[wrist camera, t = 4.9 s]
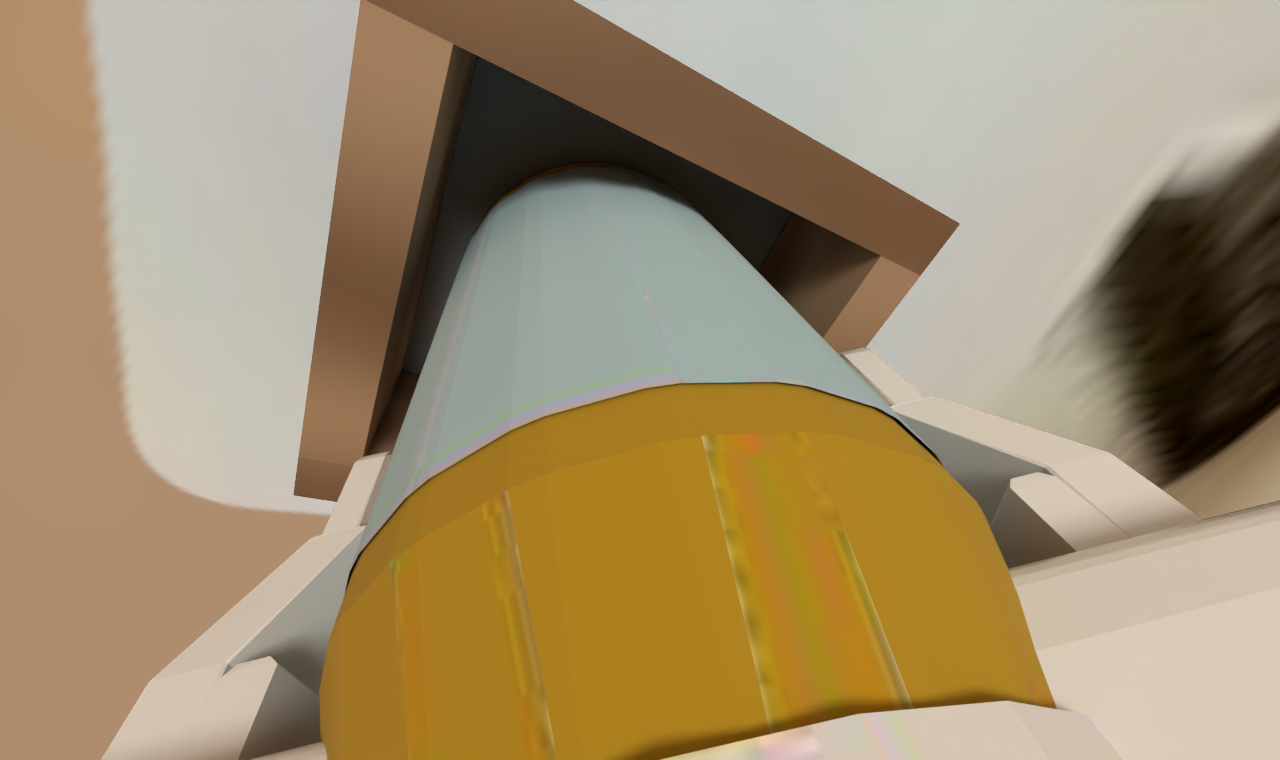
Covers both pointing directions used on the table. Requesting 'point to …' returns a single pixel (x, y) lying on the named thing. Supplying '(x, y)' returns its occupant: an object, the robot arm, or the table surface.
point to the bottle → (667, 525)
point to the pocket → (613, 89)
